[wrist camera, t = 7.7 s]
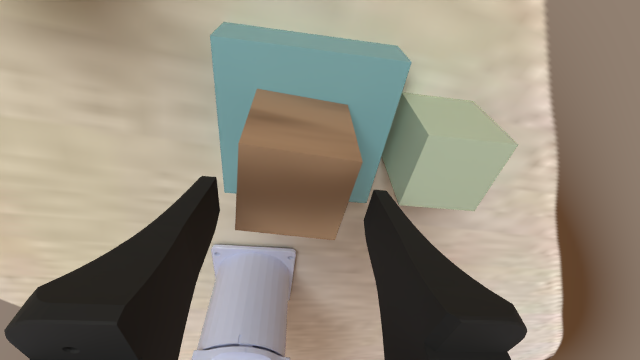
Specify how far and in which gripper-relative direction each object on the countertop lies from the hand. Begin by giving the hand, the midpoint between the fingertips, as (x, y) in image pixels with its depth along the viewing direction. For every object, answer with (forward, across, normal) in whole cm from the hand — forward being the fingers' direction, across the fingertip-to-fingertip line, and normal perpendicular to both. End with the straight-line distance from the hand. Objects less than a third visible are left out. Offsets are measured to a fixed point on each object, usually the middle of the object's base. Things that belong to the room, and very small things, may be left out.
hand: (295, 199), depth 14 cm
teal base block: (+9, 0, 0) cm, 9 cm away
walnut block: (+5, 0, 0) cm, 5 cm away
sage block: (+8, -9, 0) cm, 12 cm away
